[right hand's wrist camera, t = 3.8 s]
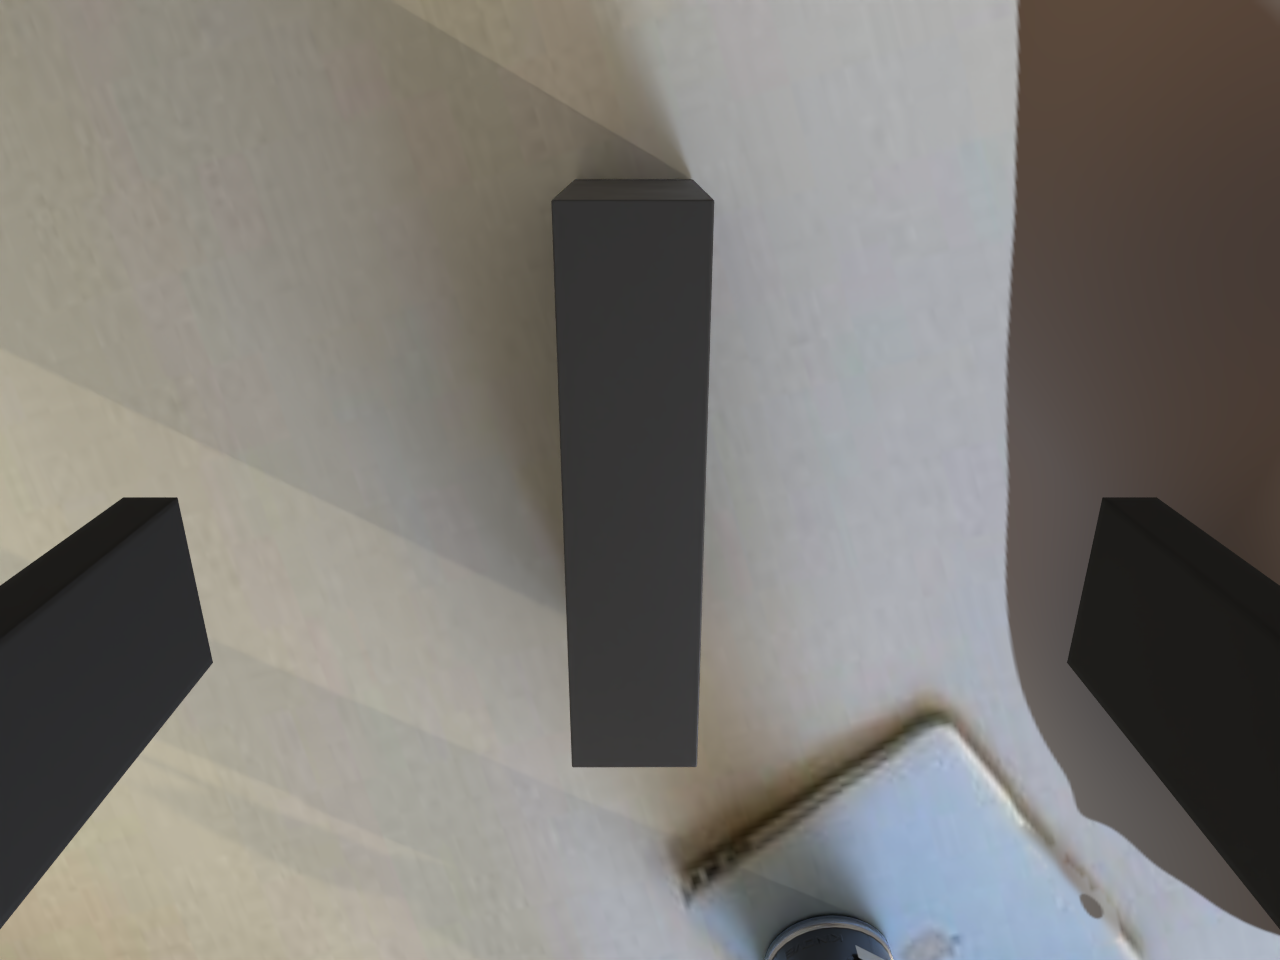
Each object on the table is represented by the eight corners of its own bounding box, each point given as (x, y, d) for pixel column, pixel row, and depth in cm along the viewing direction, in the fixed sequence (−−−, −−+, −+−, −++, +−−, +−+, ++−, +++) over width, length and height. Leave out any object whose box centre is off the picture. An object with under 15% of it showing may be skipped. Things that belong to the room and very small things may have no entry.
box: (574, 179, 45) (551, 199, 33) (693, 179, 45) (714, 199, 33) (586, 625, 55) (571, 767, 43) (683, 625, 55) (697, 767, 43)
